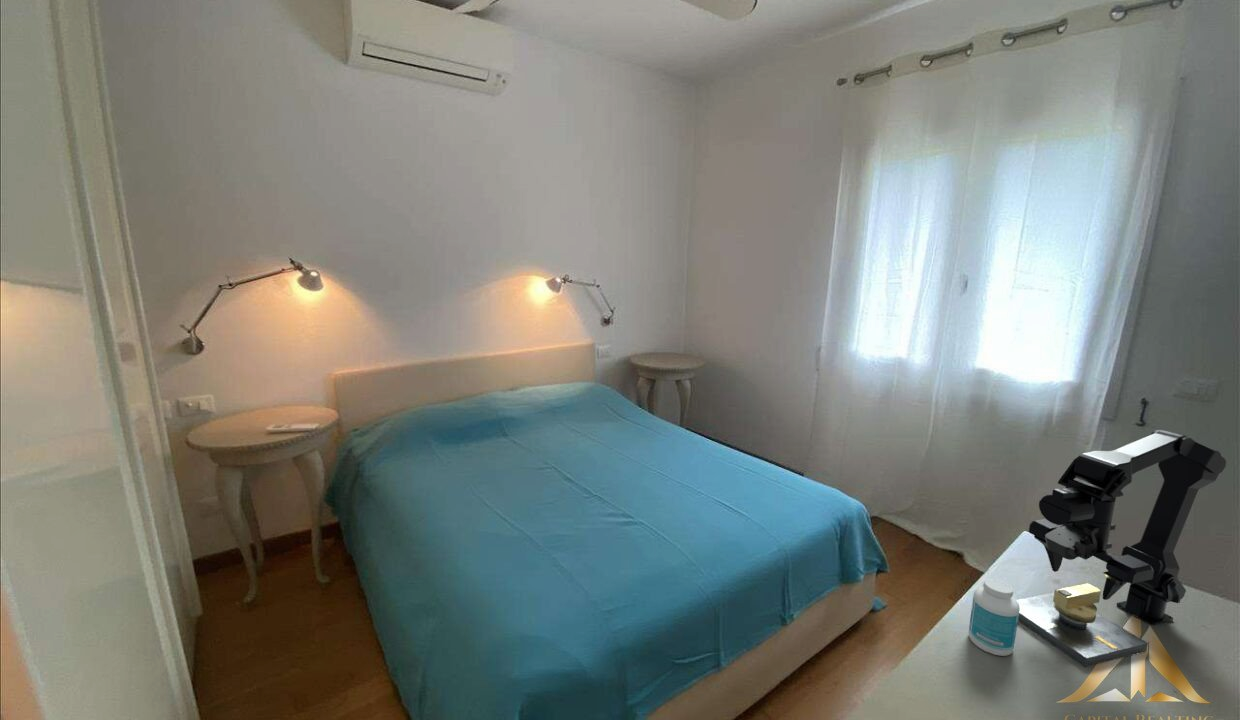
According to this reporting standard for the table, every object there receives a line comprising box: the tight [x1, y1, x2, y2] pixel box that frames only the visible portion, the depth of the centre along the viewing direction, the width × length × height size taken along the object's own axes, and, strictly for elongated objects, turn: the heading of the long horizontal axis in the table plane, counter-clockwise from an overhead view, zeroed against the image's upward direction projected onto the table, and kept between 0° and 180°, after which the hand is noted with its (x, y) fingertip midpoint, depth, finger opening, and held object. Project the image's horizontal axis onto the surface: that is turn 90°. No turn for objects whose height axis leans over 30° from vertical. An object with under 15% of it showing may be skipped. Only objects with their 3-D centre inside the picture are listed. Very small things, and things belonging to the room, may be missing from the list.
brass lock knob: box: [1053, 583, 1102, 623], centre depth 100 cm, size 9×6×5 cm
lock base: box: [1016, 591, 1149, 668], centre depth 101 cm, size 16×16×4 cm
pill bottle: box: [968, 577, 1020, 657], centre depth 97 cm, size 8×7×14 cm
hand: (1079, 584), depth 99 cm, fingers open, 9 cm apart
